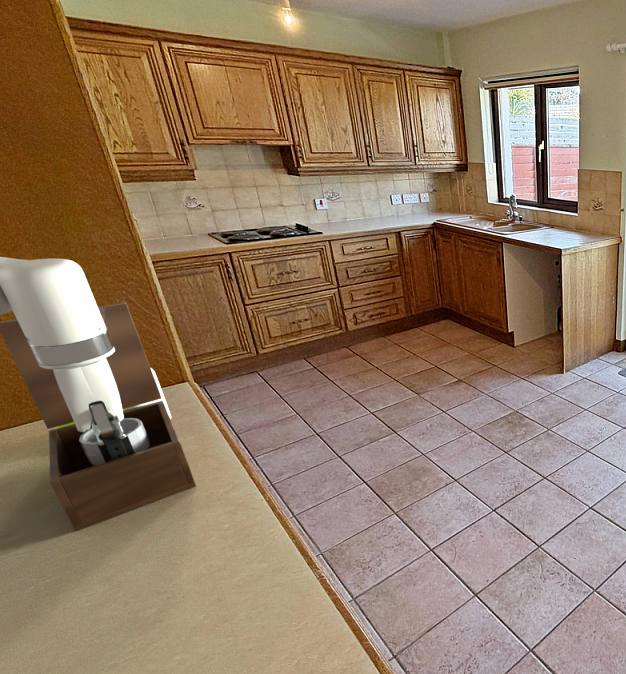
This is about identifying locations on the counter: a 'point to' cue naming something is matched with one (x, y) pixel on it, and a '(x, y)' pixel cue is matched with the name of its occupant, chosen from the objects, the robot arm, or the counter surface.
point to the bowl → (130, 429)
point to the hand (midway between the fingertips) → (119, 450)
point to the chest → (118, 471)
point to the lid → (124, 362)
